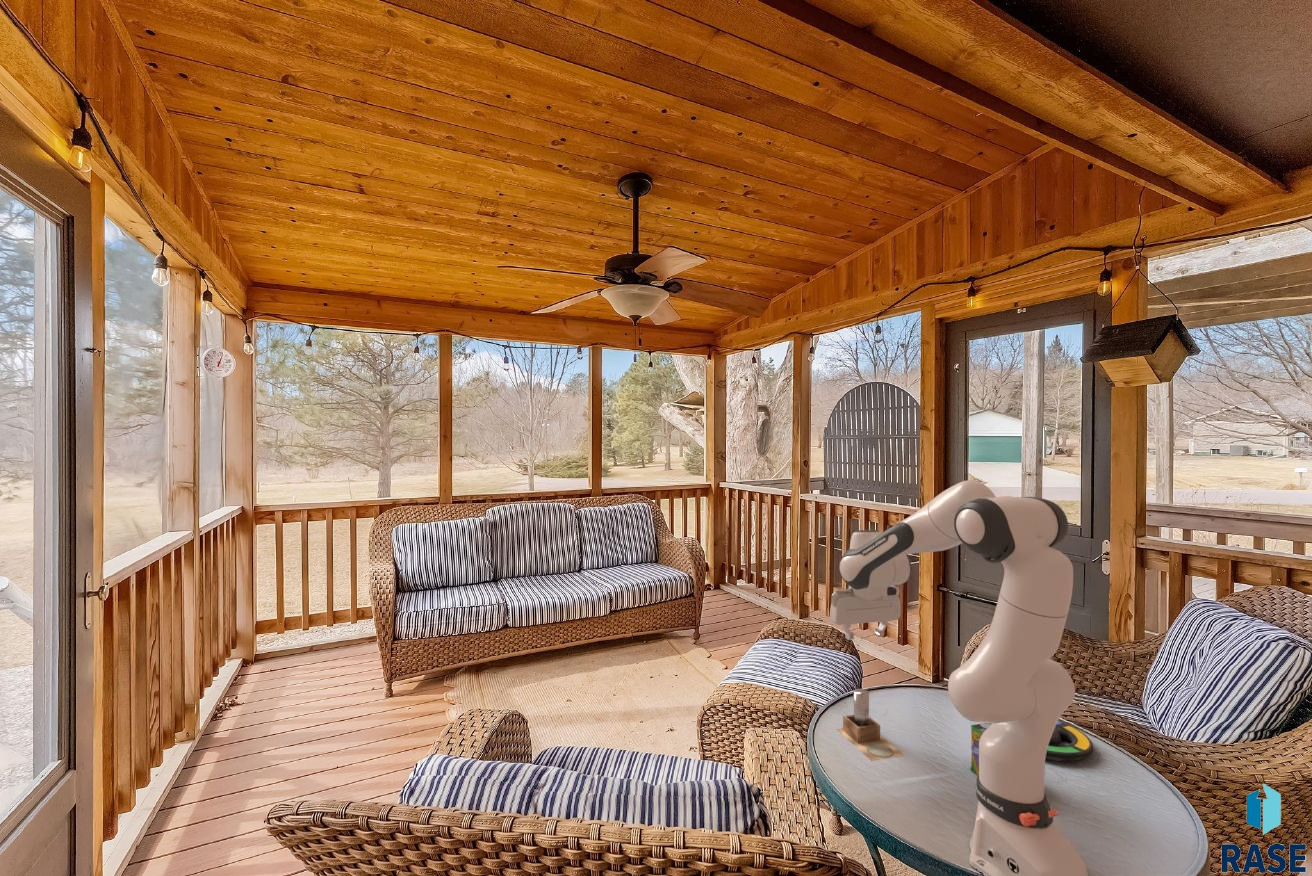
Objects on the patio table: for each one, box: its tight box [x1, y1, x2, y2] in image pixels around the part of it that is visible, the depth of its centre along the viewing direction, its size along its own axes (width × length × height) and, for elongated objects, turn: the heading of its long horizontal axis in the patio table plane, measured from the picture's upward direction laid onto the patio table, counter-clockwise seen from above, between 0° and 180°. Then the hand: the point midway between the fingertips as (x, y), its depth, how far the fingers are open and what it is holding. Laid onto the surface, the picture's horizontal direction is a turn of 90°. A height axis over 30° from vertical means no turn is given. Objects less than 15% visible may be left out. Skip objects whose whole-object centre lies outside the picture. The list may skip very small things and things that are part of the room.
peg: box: [853, 688, 870, 727], centre depth 157 cm, size 4×4×12 cm
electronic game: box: [1045, 719, 1094, 762], centre depth 155 cm, size 23×23×5 cm
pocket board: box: [836, 714, 905, 762], centre depth 153 cm, size 16×10×5 cm, turn 14°
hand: (864, 637), depth 156 cm, fingers open, 8 cm apart
